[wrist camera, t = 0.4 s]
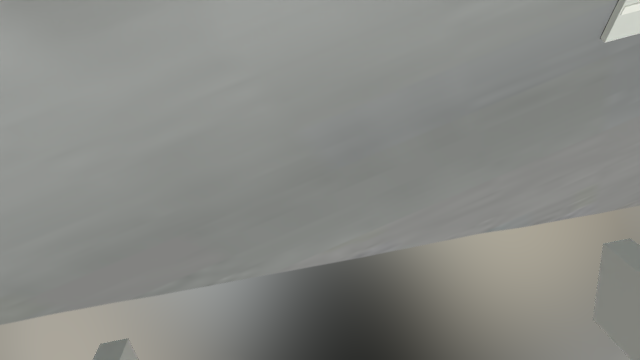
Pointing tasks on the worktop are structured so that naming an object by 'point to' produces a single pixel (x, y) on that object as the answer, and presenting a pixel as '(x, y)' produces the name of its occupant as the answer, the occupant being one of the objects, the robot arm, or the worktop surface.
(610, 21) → the mat
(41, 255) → the worktop surface
